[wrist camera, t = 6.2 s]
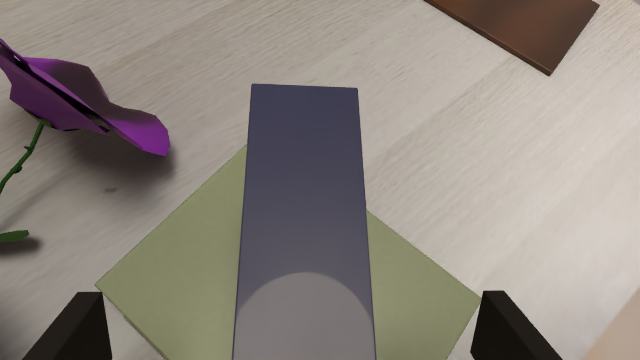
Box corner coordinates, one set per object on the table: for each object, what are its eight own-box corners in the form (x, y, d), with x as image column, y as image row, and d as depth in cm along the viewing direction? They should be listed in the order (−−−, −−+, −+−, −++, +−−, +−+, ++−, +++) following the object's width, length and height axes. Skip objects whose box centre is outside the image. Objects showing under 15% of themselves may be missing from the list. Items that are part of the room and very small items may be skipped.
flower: (126, 290, 30) (222, 142, 29) (-133, 377, 16) (42, 84, 15) (0, 182, 33) (84, 43, 32) (-321, 169, 18) (-184, -89, 17)
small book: (326, 205, 26) (357, 87, 15) (331, 399, 21) (381, 429, 10) (264, 204, 26) (251, 82, 15) (255, 401, 21) (226, 434, 10)
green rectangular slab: (465, 302, 27) (485, 294, 24) (331, 519, 21) (338, 540, 19) (266, 147, 31) (265, 126, 28) (109, 297, 25) (89, 288, 23)
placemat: (597, 9, 41) (600, 4, 41) (549, 76, 37) (552, 72, 36) (480, -56, 44) (482, -60, 44) (422, -1, 40) (424, -5, 39)
